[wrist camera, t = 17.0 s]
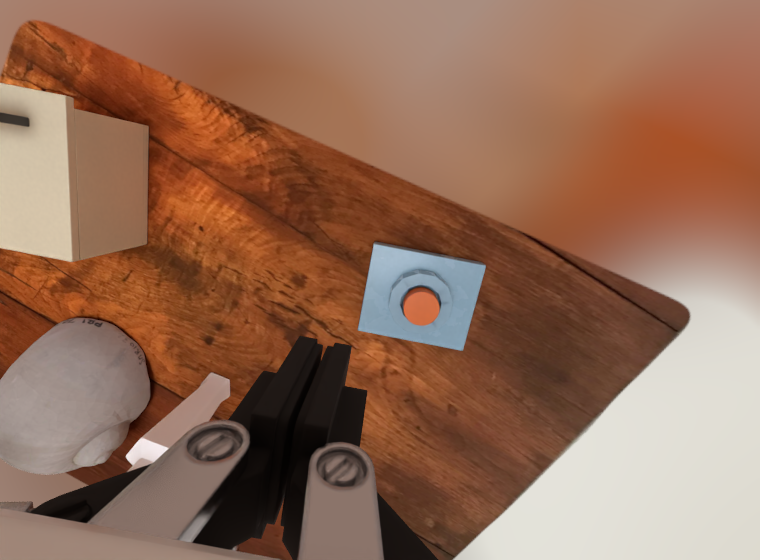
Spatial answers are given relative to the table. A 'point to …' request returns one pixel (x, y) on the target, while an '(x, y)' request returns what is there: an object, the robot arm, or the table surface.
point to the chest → (110, 183)
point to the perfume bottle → (180, 421)
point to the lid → (38, 173)
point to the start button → (421, 306)
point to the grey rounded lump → (71, 397)
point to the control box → (411, 270)
